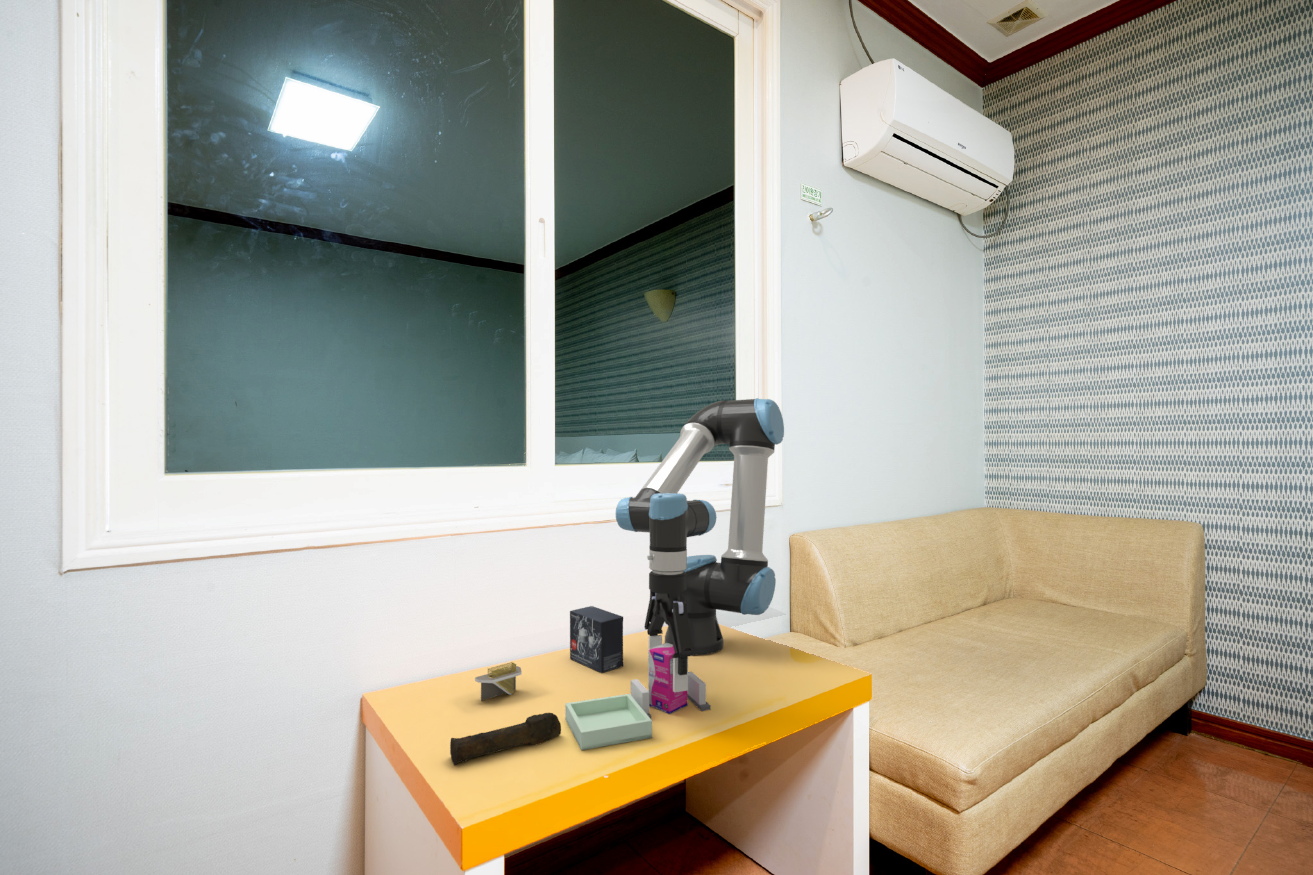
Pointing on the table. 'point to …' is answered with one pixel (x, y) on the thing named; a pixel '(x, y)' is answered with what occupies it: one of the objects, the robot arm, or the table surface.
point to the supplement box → (663, 680)
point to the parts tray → (607, 721)
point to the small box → (596, 638)
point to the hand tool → (506, 737)
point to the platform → (499, 681)
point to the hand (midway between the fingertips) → (667, 678)
